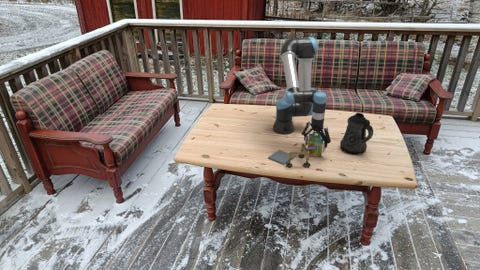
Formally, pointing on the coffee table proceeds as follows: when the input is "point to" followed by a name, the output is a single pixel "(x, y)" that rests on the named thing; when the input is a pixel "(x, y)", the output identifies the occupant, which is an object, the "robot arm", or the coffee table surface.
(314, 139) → the chalk box
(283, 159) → the slate pad
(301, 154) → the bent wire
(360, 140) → the beer stein
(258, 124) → the coffee table surface
